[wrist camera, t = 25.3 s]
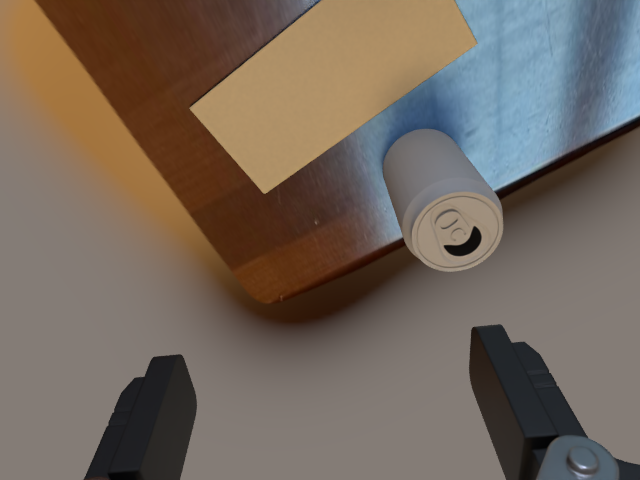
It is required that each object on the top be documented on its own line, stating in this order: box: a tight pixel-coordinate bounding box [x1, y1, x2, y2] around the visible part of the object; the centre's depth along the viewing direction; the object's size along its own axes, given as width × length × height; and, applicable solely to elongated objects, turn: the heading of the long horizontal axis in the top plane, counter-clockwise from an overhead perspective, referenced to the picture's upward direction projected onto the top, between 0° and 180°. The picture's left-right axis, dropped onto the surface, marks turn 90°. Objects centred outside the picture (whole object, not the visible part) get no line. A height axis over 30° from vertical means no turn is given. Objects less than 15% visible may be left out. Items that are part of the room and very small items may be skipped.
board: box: [190, 0, 477, 194], centre depth 37 cm, size 20×9×1 cm, turn 126°
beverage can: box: [383, 129, 503, 272], centre depth 36 cm, size 6×6×12 cm
